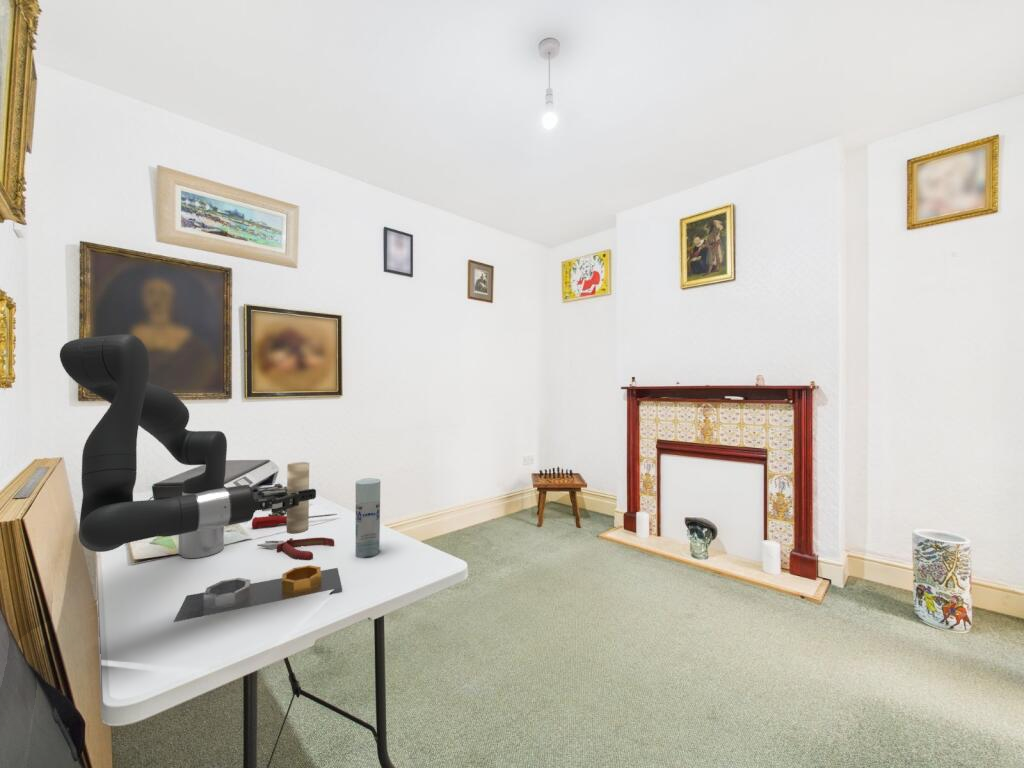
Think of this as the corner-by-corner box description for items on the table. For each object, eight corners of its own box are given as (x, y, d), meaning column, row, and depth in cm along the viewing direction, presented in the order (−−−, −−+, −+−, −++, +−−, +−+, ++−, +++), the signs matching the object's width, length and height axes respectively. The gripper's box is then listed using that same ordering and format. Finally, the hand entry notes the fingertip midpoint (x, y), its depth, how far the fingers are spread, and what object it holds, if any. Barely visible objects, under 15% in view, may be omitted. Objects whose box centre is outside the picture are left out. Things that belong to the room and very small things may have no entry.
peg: (282, 533, 92) (282, 465, 92) (294, 526, 96) (295, 461, 96) (300, 534, 91) (301, 466, 91) (312, 527, 96) (313, 462, 96)
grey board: (173, 627, 79) (173, 608, 79) (186, 600, 89) (186, 584, 89) (341, 591, 93) (342, 576, 93) (337, 571, 103) (337, 557, 103)
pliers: (276, 540, 124) (276, 531, 124) (336, 546, 120) (336, 537, 120) (244, 556, 113) (244, 546, 113) (309, 563, 109) (309, 553, 109)
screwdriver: (337, 521, 141) (337, 510, 141) (251, 530, 131) (251, 519, 131) (337, 517, 144) (337, 507, 144) (253, 526, 135) (253, 515, 135)
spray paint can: (354, 550, 116) (354, 479, 116) (378, 547, 119) (378, 477, 119) (355, 560, 110) (356, 484, 110) (381, 555, 113) (382, 482, 113)
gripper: (233, 495, 78) (324, 480, 91) (213, 482, 88) (298, 470, 101) (233, 535, 78) (324, 514, 91) (213, 517, 88) (298, 501, 101)
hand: (310, 491), depth 96 cm, fingers closed on peg, 4 cm apart
